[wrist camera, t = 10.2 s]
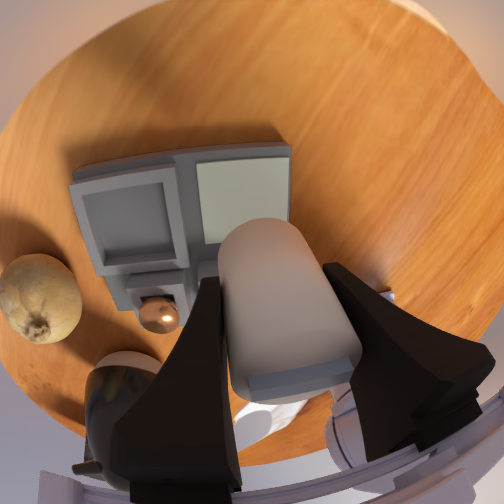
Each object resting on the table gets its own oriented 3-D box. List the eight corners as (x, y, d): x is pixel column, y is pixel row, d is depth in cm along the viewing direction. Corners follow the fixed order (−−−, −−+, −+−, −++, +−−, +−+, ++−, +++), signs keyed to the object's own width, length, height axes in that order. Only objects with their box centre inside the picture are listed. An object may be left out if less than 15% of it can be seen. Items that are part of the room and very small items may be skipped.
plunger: (176, 276, 20) (174, 303, 18) (183, 304, 21) (182, 332, 19) (139, 279, 20) (133, 306, 17) (149, 307, 21) (145, 334, 19)
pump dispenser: (89, 325, 24) (59, 470, 12) (188, 347, 28) (195, 493, 15) (93, 376, 29) (78, 487, 17) (172, 392, 32) (175, 503, 20)
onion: (62, 320, 24) (42, 377, 18) (6, 269, 19) (-27, 321, 14) (105, 284, 22) (84, 350, 16) (40, 221, 18) (-4, 275, 12)
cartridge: (309, 213, 12) (385, 329, 6) (303, 286, 14) (351, 400, 9) (212, 223, 11) (224, 360, 6) (222, 297, 14) (238, 424, 8)
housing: (285, 141, 18) (303, 155, 15) (280, 283, 25) (292, 314, 21) (80, 166, 16) (57, 186, 13) (121, 299, 23) (113, 331, 20)
